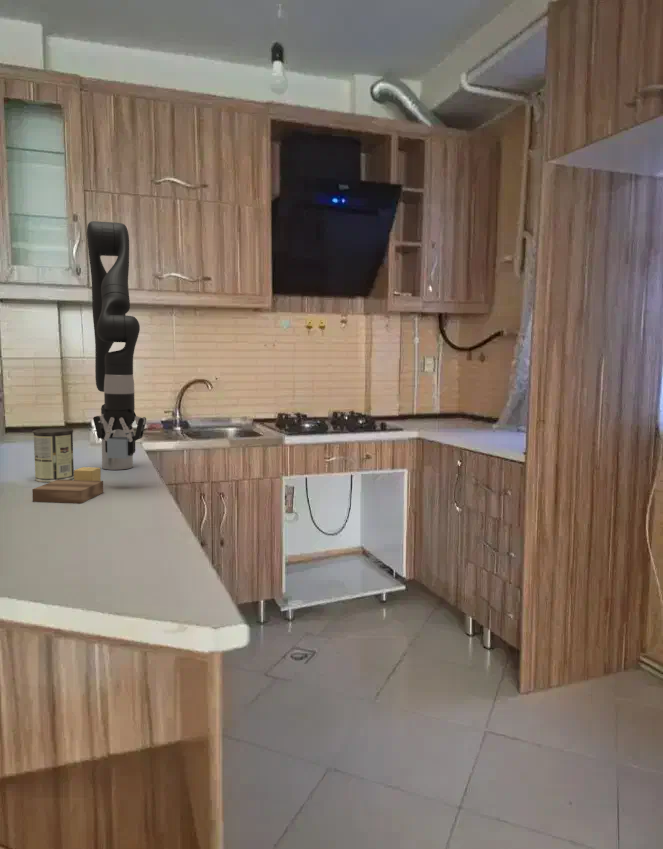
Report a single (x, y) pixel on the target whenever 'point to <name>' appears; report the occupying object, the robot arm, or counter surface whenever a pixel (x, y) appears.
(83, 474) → the ochre block
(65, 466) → the coffee can
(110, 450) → the slate block
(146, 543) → the counter surface
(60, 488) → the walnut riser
